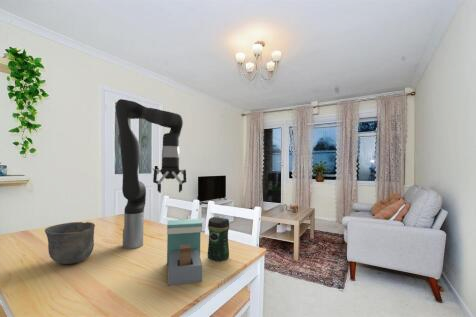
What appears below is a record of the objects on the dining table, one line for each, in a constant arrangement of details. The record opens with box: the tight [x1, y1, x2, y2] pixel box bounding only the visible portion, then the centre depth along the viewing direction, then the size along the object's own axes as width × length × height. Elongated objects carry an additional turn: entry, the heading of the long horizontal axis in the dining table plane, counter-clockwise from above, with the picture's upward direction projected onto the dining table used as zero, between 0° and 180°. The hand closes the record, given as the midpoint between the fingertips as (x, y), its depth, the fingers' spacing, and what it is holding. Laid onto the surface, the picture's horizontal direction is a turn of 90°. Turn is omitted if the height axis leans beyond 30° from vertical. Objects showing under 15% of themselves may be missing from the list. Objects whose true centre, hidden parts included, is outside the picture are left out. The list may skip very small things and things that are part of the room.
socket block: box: [167, 249, 203, 286], centre depth 90 cm, size 12×16×6 cm
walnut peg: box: [179, 244, 191, 266], centre depth 87 cm, size 4×4×12 cm
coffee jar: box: [207, 216, 230, 263], centre depth 105 cm, size 10×8×19 cm
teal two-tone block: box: [166, 218, 203, 266], centre depth 97 cm, size 14×8×18 cm, turn 105°
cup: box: [44, 221, 96, 265], centre depth 99 cm, size 18×18×15 cm
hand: (169, 192), depth 103 cm, fingers open, 8 cm apart
